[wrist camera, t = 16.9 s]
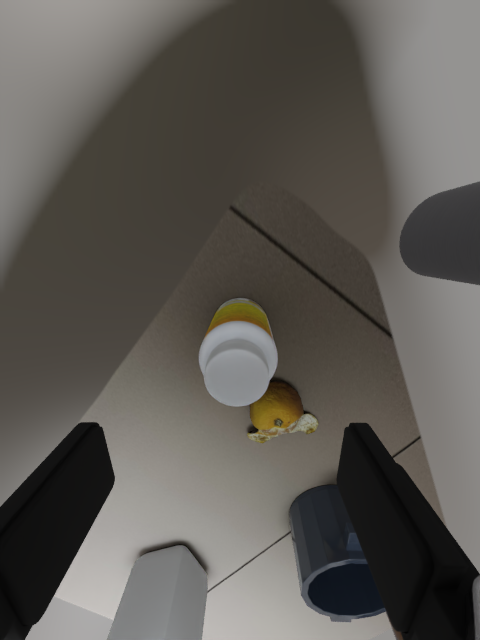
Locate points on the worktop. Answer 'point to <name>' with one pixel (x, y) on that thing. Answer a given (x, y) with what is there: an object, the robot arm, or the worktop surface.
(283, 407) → the fruit
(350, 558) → the pot
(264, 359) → the supplement bottle
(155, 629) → the soap bottle
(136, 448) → the worktop surface
